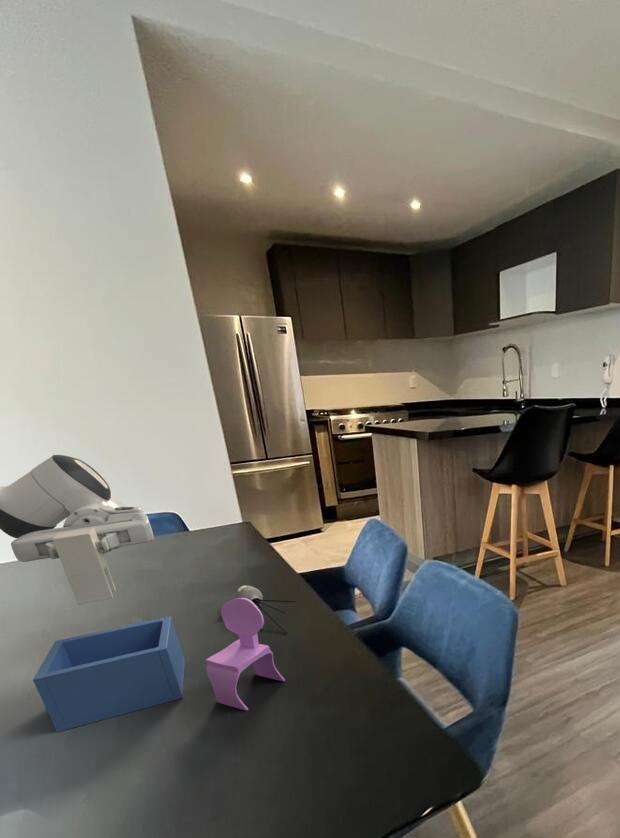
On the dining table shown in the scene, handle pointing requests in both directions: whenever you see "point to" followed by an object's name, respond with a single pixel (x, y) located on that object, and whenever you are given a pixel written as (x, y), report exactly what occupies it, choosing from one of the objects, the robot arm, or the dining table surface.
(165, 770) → the dining table surface
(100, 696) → the box
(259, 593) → the reed diffuser
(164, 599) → the dining table surface
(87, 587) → the cream rectangular block
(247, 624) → the toy chair
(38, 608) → the dining table surface
